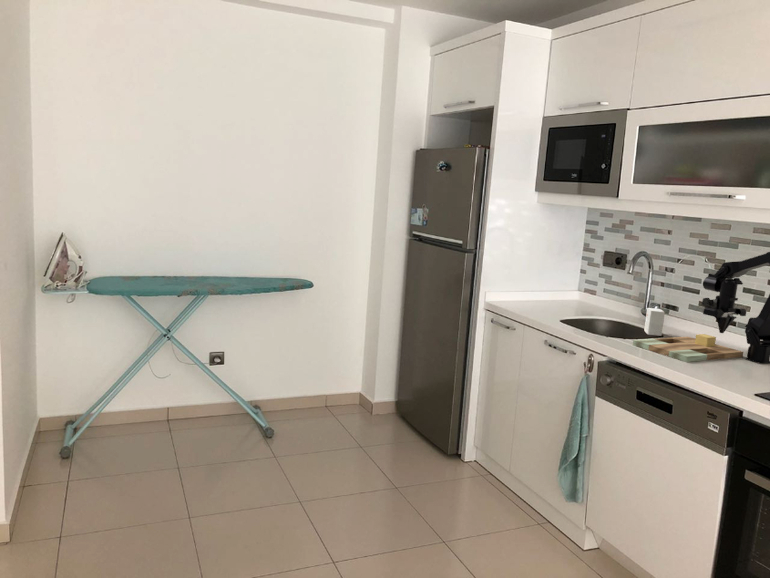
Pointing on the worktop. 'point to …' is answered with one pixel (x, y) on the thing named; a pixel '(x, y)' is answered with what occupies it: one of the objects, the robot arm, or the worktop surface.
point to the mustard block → (705, 340)
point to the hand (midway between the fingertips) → (721, 333)
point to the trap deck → (687, 349)
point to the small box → (654, 321)
